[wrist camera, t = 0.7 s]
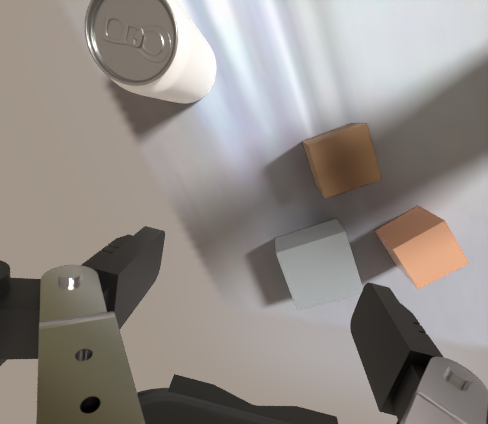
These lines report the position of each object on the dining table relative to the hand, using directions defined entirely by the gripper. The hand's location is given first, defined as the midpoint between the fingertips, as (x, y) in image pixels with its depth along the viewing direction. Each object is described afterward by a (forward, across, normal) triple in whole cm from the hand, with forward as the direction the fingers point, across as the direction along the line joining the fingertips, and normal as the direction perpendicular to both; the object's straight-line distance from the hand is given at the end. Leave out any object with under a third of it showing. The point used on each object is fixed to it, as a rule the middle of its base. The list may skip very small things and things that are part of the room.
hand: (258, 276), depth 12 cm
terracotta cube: (+21, -16, +3) cm, 27 cm away
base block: (+21, -7, +7) cm, 23 cm away
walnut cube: (+21, -6, -4) cm, 22 cm away
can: (+21, +10, -8) cm, 25 cm away
